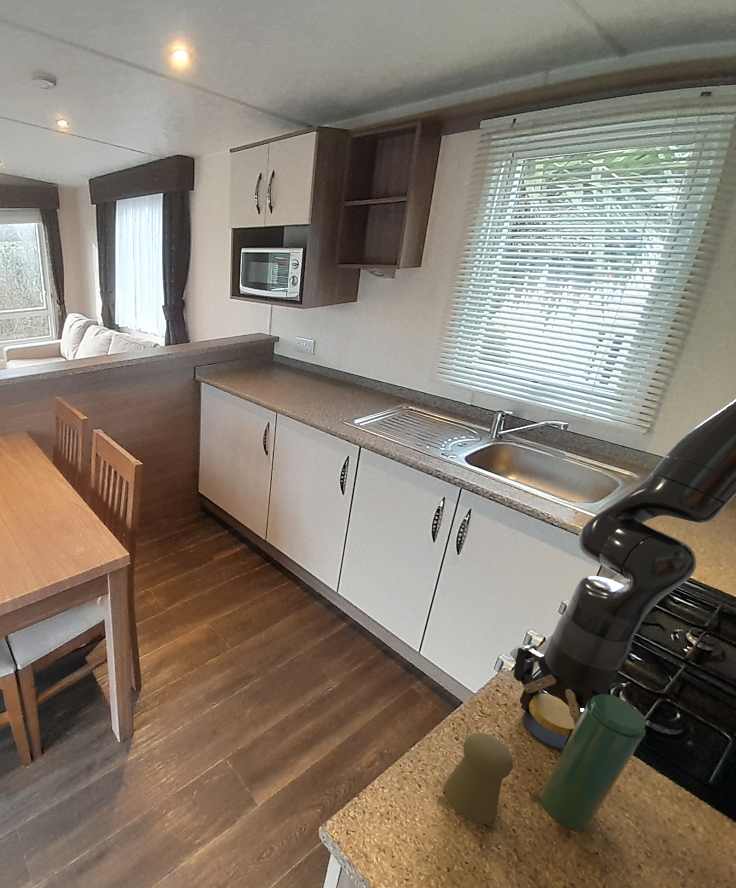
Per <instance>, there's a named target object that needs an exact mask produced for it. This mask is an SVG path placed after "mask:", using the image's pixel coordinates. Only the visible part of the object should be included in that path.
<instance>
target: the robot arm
mask: <svg viewBox="0 0 736 888" xmlns="http://www.w3.org/2000/svg"><path fill="white" fill-rule="evenodd" d="M735 496H736V399H734V400H733V401H732V402H730V403H729V404H727V405H726V406H725V407H723V408H721V409H720V410H719V411H717V412H716V413H714V414H713V415H712V416H710V417H708V418H707V419H705V420H704V421H703V422H701V423H699V424H698V425H697V426H696V427H694V428H693V429H692V430H690V431H689V432H687V434H685V435H684V436H683V437H682V438H681V439H680V440H679V441H677V443H675V445H673V447H672V448H671V449H670V450H669V451H668V452H667V454H665V456H664V457H663V458H662V459H661V461H660V462H659V463H658V464H657V465H656V467H655V468H654V469H652V471H651V473H650V474H649V475H648V476H647V477H646V478H645V480H644V481H642V483H640V484H639V485H638V486H636V488H634V489H632V490H631V491H630V492H629V493H627V494H626V495H625V496H623V497H622V498H620V499H619V500H617V501H616V502H615V503H613V504H611V505H610V506H608V507H607V508H605V509H604V510H602V511H600V512H599V513H598V514H596V515H595V516H593V517H592V518H590V519H589V520H588V521H587V522H586V523H585V524H584V525H583V526H582V528H581V529H580V532H579V534H578V539H577V542H578V543H577V544H578V548H579V550H580V552H581V553H582V554H583V555H584V556H585V557H587V558H588V559H589V560H591V561H593V562H594V563H597V564H599V565H601V567H604V568H605V569H607V570H609V571H610V572H613V573H615V574H616V575H618V576H620V577H622V578H624V579H626V580H627V581H628V583H626V582H623V581H620V580H618V579H614V578H611V577H608V576H607V577H606V576H601V575H587V576H585V577H583V578H582V579H581V580H579V582H578V583H577V584H576V587H575V589H574V591H573V593H572V595H571V598H570V600H569V602H568V605H567V607H566V609H565V611H564V612H563V613H562V615H561V616H560V617H559V619H558V621H557V624H556V626H555V628H554V630H553V633H552V636H551V637H550V640H549V642H548V644H547V646H546V649H545V651H544V653H543V654H542V653H541V652H539V651H538V650H537V647H536V646H535V645H534V644H531V643H529V644H527V645H523V646H521V647H519V648H518V649H517V653H516V658H515V663H514V664H515V665H514V669H513V678H514V679H515V680H516V681H517V682H520V683H521V684H522V686H523V691H522V693H521V696H520V697H519V703H520V704H521V705H520V708H521V710H523V711H524V713H525V712H527V711H529V703H530V701H531V700H532V698H533V697H534V696H535V695H537V694H542V691H541V690H543V689H545V688H547V691H548V692H549V693H551V694H552V695H553V696H555V697H557V698H559V699H561V700H562V701H563V702H564V703H565V704H566V705H568V706H569V710H570V716H571V717H572V718H573V720H574V726H576V724H577V722H578V720H579V718H580V716H581V714H582V712H583V710H584V708H585V706H586V704H587V702H588V701H589V700H591V699H592V698H593V696H596V695H599V694H607V695H608V693H609V690H610V689H611V687H612V685H613V683H614V682H615V679H616V677H617V676H618V674H619V672H620V670H621V669H622V667H623V666H624V665H625V663H626V662H627V660H628V656H629V653H630V651H631V648H632V643H633V640H634V638H635V636H636V634H637V632H638V630H639V628H640V627H641V624H642V623H643V621H644V619H645V618H646V616H647V615H648V614H649V613H650V612H651V610H652V609H653V608H654V607H655V606H656V605H657V604H659V602H660V601H662V600H663V599H664V598H666V596H669V594H670V593H672V592H673V591H675V590H676V589H677V588H679V587H680V586H681V585H683V584H685V583H686V582H687V581H688V580H689V579H690V578H691V577H692V576H693V574H694V573H695V572H696V569H697V564H698V563H697V557H696V556H697V555H696V553H695V551H694V550H693V548H692V547H691V546H690V545H689V544H687V543H685V542H684V541H682V540H680V539H678V538H675V537H674V536H672V535H670V534H668V533H665V532H663V531H661V530H658V529H656V528H654V527H651V526H649V525H648V524H645V523H646V522H648V521H649V520H652V519H655V518H658V517H669V518H675V519H679V520H684V521H687V522H691V523H697V524H705V523H708V522H710V521H712V520H714V519H715V518H716V517H718V515H719V514H720V513H721V512H722V511H723V510H724V509H725V508H726V506H727V505H728V504H729V503H730V502H731V501H732V500H733V498H735ZM535 663H537V665H538V668H539V671H540V674H541V678H539V679H535V678H534V677H533V672H534V666H535ZM572 731H573V729H572ZM572 731H571V732H570V734H569V736H568V738H567V740H566V742H565V744H564V745H566V743H567V741H568V739H569V737H570V735H571V733H572Z"/></svg>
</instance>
